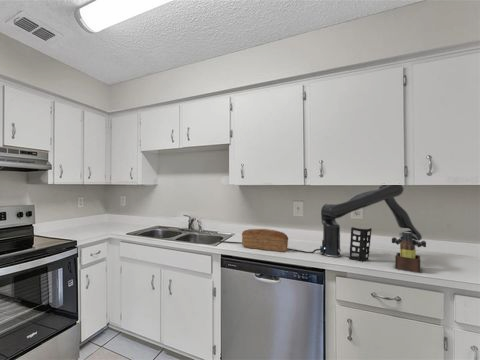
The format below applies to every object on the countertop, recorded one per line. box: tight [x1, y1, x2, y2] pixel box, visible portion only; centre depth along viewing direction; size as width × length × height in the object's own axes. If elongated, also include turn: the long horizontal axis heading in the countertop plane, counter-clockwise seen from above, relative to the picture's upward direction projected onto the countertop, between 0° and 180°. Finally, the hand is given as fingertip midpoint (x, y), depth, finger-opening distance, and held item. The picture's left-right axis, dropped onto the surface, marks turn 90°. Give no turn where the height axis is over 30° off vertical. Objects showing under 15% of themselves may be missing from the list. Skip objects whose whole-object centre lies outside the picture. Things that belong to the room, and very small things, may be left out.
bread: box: [241, 228, 289, 252], centre depth 187 cm, size 12×31×14 cm, turn 61°
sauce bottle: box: [399, 231, 417, 259], centre depth 145 cm, size 7×6×20 cm
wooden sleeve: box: [394, 252, 421, 274], centre depth 145 cm, size 10×11×7 cm
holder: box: [348, 226, 373, 262], centre depth 160 cm, size 11×8×20 cm
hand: (408, 244), depth 147 cm, fingers open, 8 cm apart
